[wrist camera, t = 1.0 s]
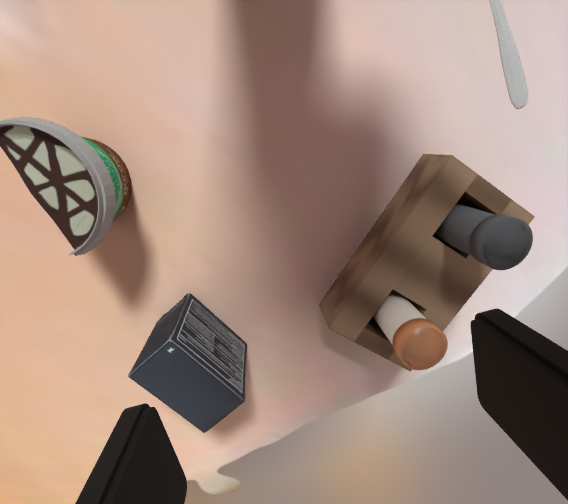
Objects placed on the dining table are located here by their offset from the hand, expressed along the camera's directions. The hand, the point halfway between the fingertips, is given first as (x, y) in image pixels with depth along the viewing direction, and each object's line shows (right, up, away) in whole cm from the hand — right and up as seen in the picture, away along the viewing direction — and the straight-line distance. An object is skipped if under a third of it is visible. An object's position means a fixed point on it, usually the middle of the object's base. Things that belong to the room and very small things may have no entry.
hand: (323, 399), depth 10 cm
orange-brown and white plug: (+11, -1, +34) cm, 36 cm away
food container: (-20, +13, +27) cm, 36 cm away
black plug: (+17, +8, +32) cm, 37 cm away
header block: (+14, +4, +33) cm, 36 cm away
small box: (-12, -6, +34) cm, 37 cm away
